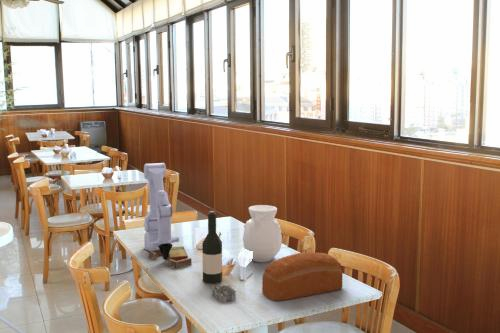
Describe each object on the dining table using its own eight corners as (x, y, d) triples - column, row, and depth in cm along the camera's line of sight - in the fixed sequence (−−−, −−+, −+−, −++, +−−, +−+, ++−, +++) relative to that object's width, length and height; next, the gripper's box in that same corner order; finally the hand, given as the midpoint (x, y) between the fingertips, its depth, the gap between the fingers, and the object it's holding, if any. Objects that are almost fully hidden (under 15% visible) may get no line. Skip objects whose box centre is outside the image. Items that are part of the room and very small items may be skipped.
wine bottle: (226, 279, 247) (225, 210, 242) (215, 285, 239) (214, 214, 235) (209, 276, 251) (209, 208, 246) (198, 281, 244) (198, 212, 239)
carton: (170, 265, 265) (169, 256, 265) (166, 255, 281) (166, 246, 280) (188, 264, 267) (188, 255, 266) (183, 254, 283) (183, 245, 282)
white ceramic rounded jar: (275, 267, 263) (275, 213, 259) (237, 262, 268) (237, 210, 265) (286, 255, 280) (286, 205, 276) (250, 251, 286) (250, 202, 282)
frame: (148, 257, 276) (148, 251, 276) (163, 253, 282) (163, 247, 281) (176, 268, 260) (176, 262, 259) (191, 264, 266) (191, 258, 265)
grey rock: (210, 294, 231) (210, 284, 230) (227, 291, 234) (227, 281, 233) (219, 303, 221) (219, 293, 220) (237, 300, 224) (237, 290, 224)
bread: (258, 291, 233) (258, 254, 231) (326, 279, 247) (327, 244, 245) (274, 303, 221) (275, 264, 218) (345, 290, 235) (346, 253, 233)
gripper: (156, 235, 259) (156, 264, 261) (182, 229, 269) (183, 257, 271) (147, 232, 264) (148, 260, 266) (173, 226, 274) (174, 254, 276)
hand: (165, 259), depth 269 cm, fingers closed
